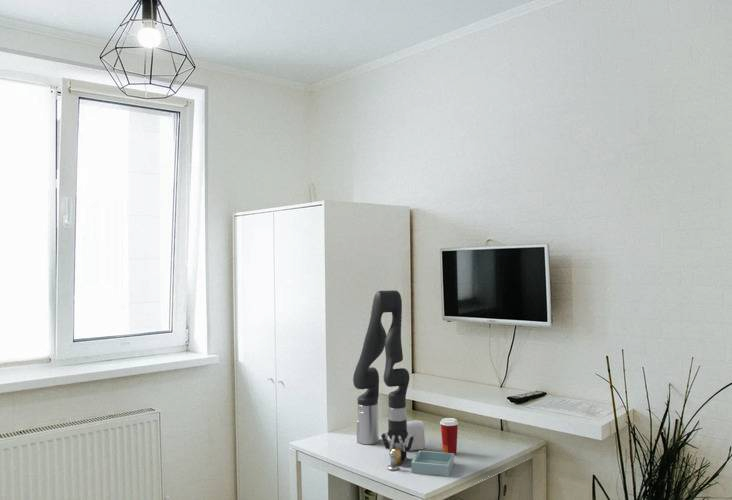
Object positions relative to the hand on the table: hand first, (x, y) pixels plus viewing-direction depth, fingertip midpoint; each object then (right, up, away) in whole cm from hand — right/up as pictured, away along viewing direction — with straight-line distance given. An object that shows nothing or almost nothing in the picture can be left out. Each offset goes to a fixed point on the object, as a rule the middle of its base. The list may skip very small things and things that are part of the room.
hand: (398, 459), depth 236 cm
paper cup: (+22, -1, +9) cm, 24 cm away
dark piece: (0, -1, +1) cm, 1 cm away
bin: (+13, 0, -8) cm, 16 cm away
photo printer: (+7, -1, +14) cm, 16 cm away
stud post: (-3, -1, -8) cm, 8 cm away
